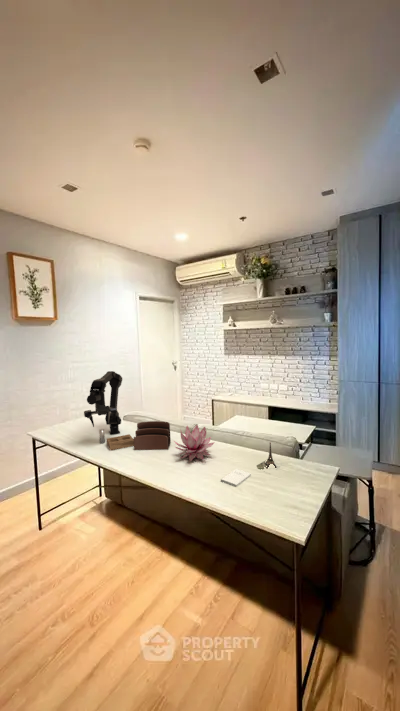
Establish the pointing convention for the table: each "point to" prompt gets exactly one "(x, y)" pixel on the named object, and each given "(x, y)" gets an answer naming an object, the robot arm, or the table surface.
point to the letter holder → (152, 436)
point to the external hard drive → (236, 477)
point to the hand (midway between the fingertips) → (101, 425)
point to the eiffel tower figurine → (268, 462)
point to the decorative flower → (195, 443)
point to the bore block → (120, 442)
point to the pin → (102, 436)
